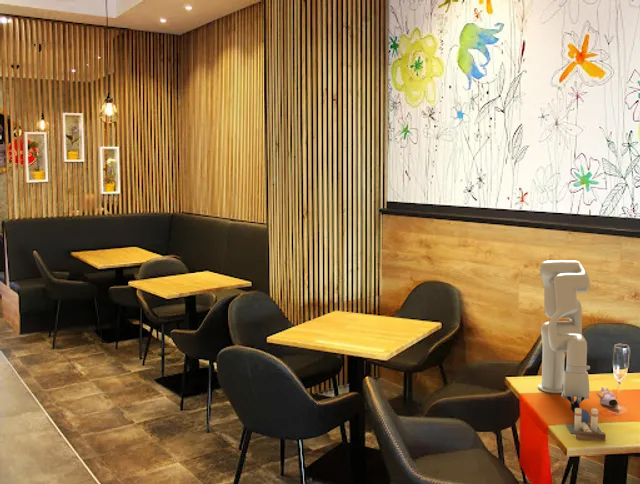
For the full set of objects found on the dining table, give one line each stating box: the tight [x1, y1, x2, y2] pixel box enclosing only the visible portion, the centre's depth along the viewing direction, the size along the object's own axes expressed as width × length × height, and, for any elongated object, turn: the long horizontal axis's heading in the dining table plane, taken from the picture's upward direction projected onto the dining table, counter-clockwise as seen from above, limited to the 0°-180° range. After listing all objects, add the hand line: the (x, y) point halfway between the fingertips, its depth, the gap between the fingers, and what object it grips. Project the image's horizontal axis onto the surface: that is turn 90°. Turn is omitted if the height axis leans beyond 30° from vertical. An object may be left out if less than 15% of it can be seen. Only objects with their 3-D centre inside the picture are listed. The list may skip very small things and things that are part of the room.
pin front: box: [581, 422, 592, 432], centre depth 248 cm, size 2×2×9 cm
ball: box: [573, 408, 591, 425], centre depth 256 cm, size 6×6×6 cm
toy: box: [596, 387, 618, 407], centre depth 278 cm, size 9×6×15 cm
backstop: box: [575, 431, 607, 442], centre depth 243 cm, size 2×10×2 cm, turn 82°
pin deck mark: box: [564, 423, 603, 435], centre depth 252 cm, size 9×12×1 cm
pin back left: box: [590, 408, 599, 432], centre depth 248 cm, size 2×2×9 cm
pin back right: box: [573, 407, 583, 432], centre depth 249 cm, size 2×2×9 cm
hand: (574, 412), depth 266 cm, fingers closed
